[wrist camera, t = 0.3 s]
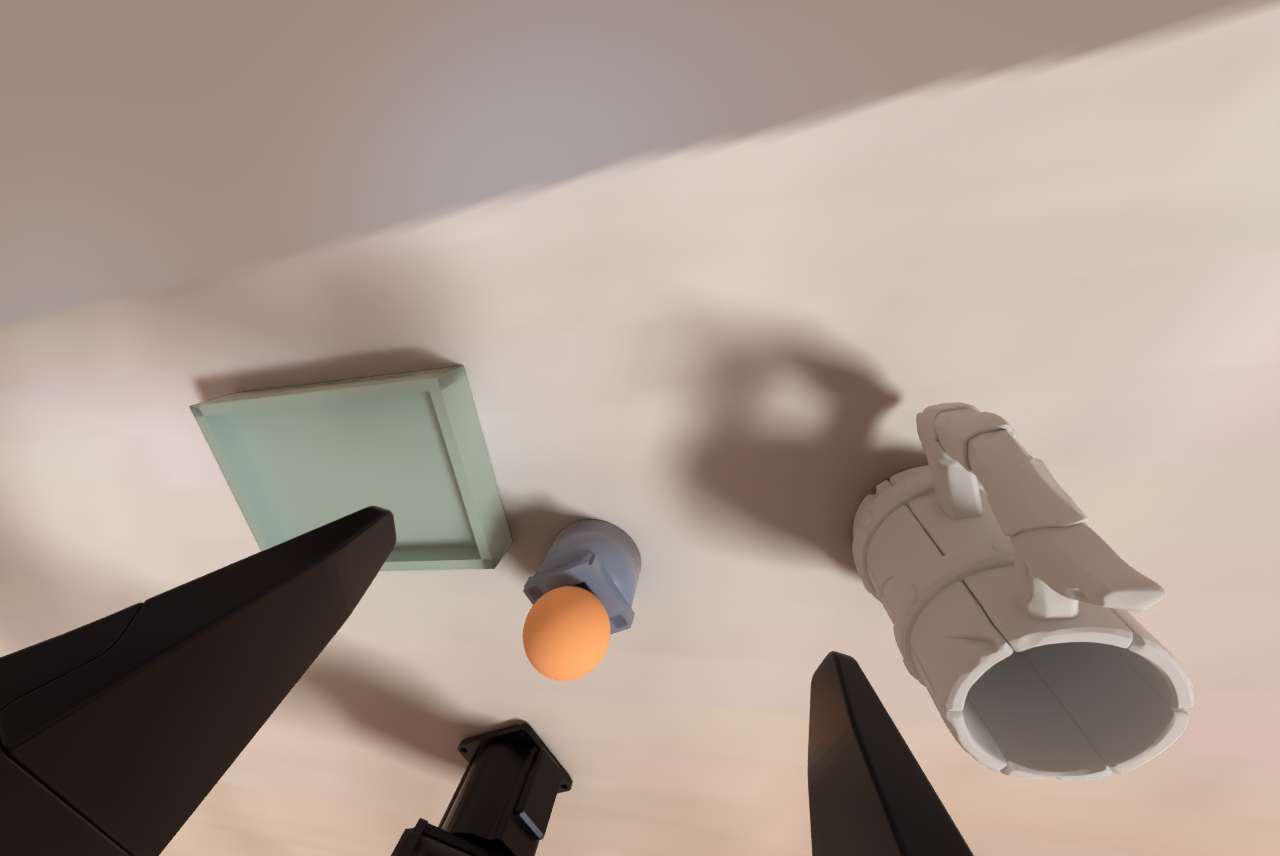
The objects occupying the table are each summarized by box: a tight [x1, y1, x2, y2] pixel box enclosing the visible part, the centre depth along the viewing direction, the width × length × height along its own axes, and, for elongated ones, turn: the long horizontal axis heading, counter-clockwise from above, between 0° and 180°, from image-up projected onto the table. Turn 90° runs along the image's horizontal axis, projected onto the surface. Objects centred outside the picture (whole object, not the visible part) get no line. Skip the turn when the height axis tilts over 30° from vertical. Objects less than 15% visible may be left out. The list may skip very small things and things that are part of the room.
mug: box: [852, 403, 1194, 781], centre depth 17 cm, size 8×12×12 cm, turn 16°
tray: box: [189, 366, 513, 571], centre depth 26 cm, size 15×11×2 cm
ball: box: [523, 586, 610, 680], centre depth 22 cm, size 4×4×4 cm
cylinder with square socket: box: [523, 520, 641, 634], centre depth 25 cm, size 5×5×4 cm
